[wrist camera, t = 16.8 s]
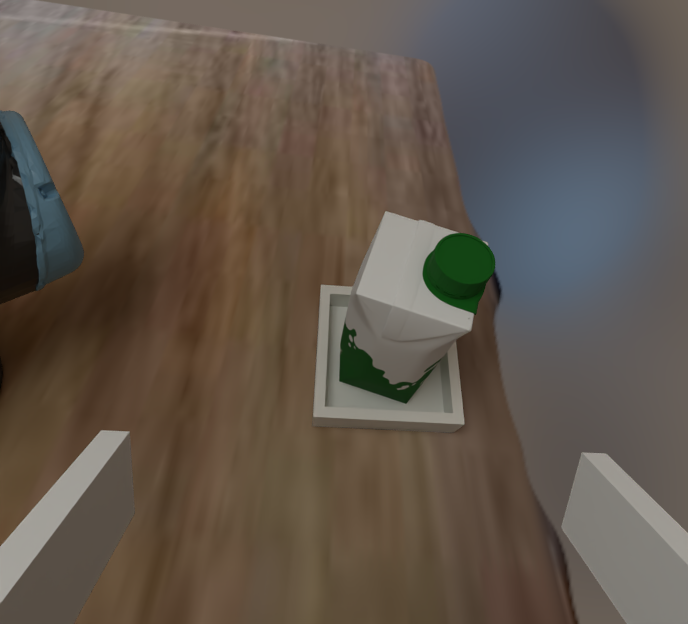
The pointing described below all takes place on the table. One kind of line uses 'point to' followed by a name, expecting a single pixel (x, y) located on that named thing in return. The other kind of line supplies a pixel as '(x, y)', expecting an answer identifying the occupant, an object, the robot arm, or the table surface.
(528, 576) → the table surface
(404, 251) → the soya milk
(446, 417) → the square holder
